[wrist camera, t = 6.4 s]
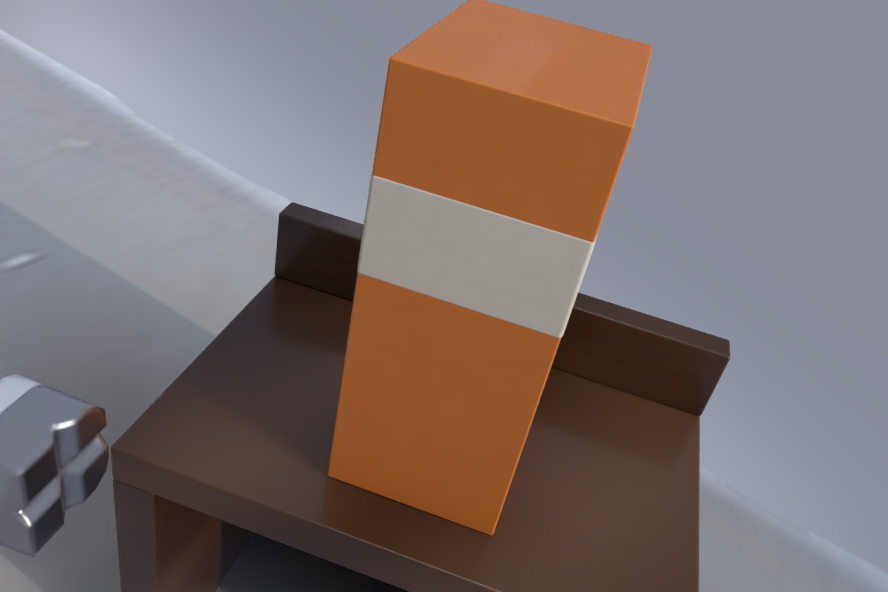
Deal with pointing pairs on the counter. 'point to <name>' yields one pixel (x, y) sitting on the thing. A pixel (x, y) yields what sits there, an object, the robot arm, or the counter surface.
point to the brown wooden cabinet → (391, 522)
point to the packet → (476, 249)
